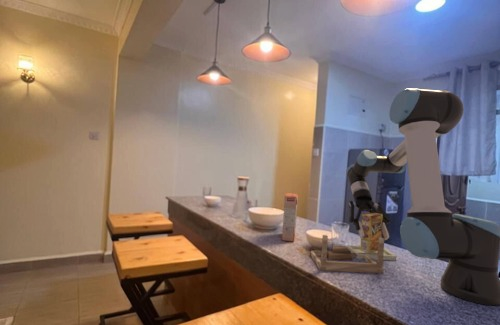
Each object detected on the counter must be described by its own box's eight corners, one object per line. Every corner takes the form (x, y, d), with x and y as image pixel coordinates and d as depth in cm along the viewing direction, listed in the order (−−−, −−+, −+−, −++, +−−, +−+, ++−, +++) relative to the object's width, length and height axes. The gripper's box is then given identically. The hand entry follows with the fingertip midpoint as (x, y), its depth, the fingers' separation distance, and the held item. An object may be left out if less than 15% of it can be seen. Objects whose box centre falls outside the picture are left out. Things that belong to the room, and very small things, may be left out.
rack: (383, 273, 96) (385, 239, 96) (320, 270, 96) (322, 235, 96) (363, 257, 112) (365, 227, 112) (310, 254, 112) (311, 224, 112)
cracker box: (294, 242, 127) (297, 196, 127) (281, 241, 128) (284, 195, 128) (295, 234, 141) (298, 193, 140) (283, 233, 142) (286, 192, 141)
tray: (396, 260, 110) (396, 256, 110) (357, 258, 110) (357, 254, 110) (382, 250, 122) (382, 246, 122) (346, 248, 121) (346, 245, 121)
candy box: (368, 253, 112) (371, 215, 111) (359, 250, 115) (361, 213, 115) (381, 250, 117) (383, 214, 116) (371, 247, 120) (374, 212, 120)
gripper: (381, 199, 131) (397, 243, 115) (335, 197, 131) (345, 240, 115) (388, 189, 125) (406, 234, 110) (339, 186, 125) (350, 231, 110)
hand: (374, 237), depth 112 cm, fingers closed on candy box, 9 cm apart
